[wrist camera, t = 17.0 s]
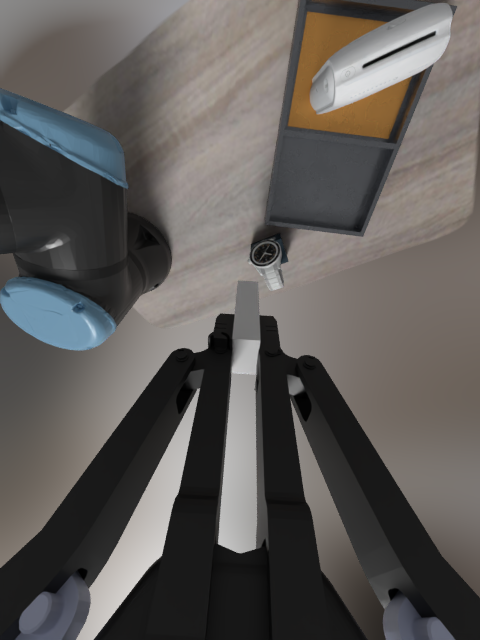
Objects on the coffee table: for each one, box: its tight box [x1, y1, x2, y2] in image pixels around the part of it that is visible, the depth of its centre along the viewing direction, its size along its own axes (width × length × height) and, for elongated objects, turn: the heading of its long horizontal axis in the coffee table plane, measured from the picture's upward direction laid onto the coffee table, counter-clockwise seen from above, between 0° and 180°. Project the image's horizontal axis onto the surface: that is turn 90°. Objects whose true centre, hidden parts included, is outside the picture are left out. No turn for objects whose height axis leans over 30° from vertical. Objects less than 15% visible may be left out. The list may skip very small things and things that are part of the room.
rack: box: [265, 0, 457, 237], centre depth 33 cm, size 16×24×3 cm
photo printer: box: [310, 3, 453, 114], centre depth 25 cm, size 10×4×12 cm, turn 110°
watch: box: [248, 233, 288, 291], centre depth 40 cm, size 6×8×11 cm
